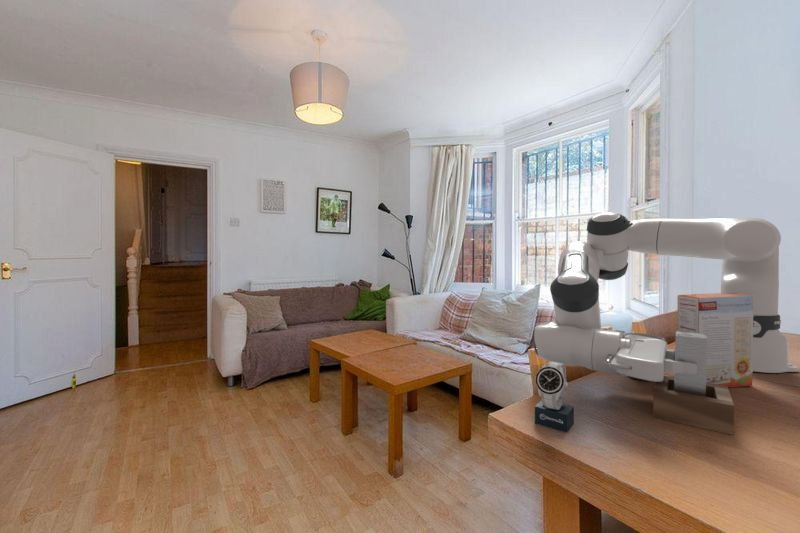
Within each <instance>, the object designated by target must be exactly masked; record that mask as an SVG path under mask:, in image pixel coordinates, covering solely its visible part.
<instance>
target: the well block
mask: <svg viewBox="0 0 800 533" xmlns="http://www.w3.org/2000/svg"><path fill="white" fill-rule="evenodd" d="M674 377H675V376H669V375H668V376H666V375H664V379H663V381H662V382H654V387H653V402H652V403H653V404H652V406H653V407H652V408H653V409H652V410H653V412H652V413H653V414H652V416H653V418H655V419H660V420H664V421H669V422H672V423H673V422H675V423H677V424H681V425H685V426H691V427H696V428H700V429H703V430H704V429H705V430H709V431H714V432H718V433H722V434H726V435H731V436H734V434H735V433H734V431H735V430H734V426H735V423H734V422H735V404H734V401H733V399H732V395H731V392H730V390H729V387H728V386H724V385H717V384H711V383H706V397H703V396H698V395H692V394H687V393H681V392H676V391H674Z"/></svg>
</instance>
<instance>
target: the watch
mask: <svg viewBox="0 0 800 533" xmlns="http://www.w3.org/2000/svg"><path fill="white" fill-rule="evenodd" d="M567 381H568V380H567V370H566V365H564V364H562V363H557V362H551V361H547V362H546V363H544V365H542V367H541V368H540V369H539V370H538V371H537V372H536V374H535V378H534V383H535V386H536V388H537V392H538V395H539V397H540V398H541V400H540V401H538V402H537V404H535V406H534V424H536V425H539V426H543V427H546V428H549V429H553V430H557V431H559V432H563V433H567V434H568V433H569V431H570V429H571V428H572V426H573V425H574V421H575V417H574V416H575V412H574V411H575V406H574V405H570V404H566V403H563V401H565V398H566V394H567V392H566V391H567V388H568V387H569V382H567Z"/></svg>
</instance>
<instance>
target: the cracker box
mask: <svg viewBox="0 0 800 533" xmlns="http://www.w3.org/2000/svg"><path fill="white" fill-rule="evenodd" d="M677 331H680V332H689V333H699V334H706V336H707V365H706V383H711V384H717V385H724V386H728V388H739V387H752V386H753V380H754V379H753V378H754V377H753V376H754V375H753V372H754V371H753V295H745V294H737V293H721V292H719V293H690V294H689V293H688V294H678V295H677Z"/></svg>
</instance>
